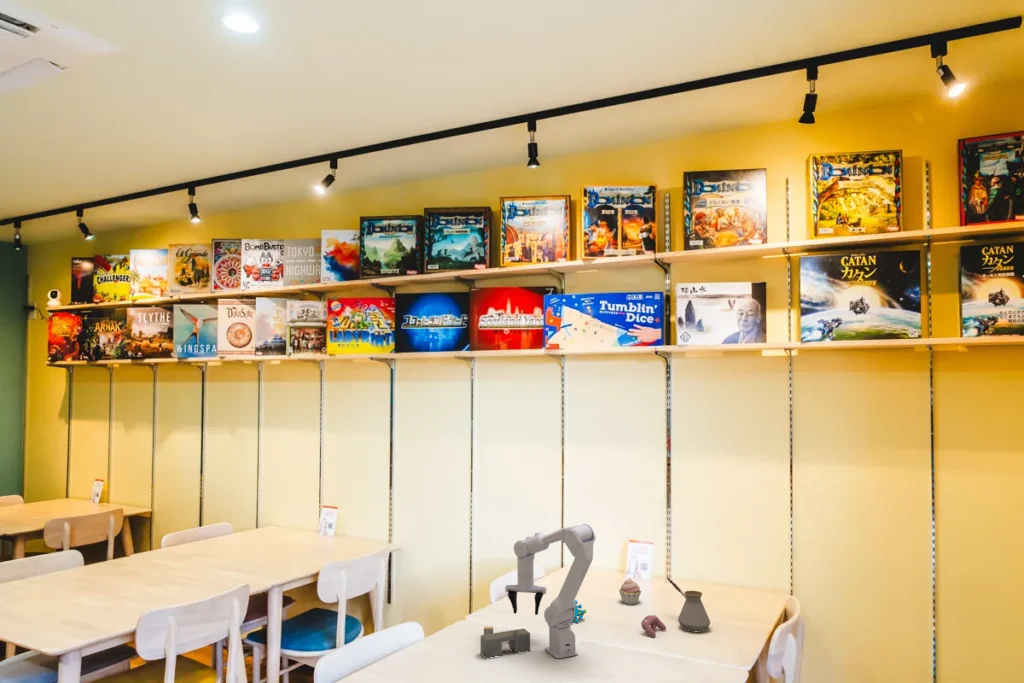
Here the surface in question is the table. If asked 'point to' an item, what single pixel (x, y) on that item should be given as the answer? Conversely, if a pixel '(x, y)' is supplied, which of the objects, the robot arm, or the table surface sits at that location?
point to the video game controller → (652, 625)
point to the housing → (493, 642)
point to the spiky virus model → (578, 612)
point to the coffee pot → (692, 611)
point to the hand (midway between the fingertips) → (526, 613)
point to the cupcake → (630, 592)
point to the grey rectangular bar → (488, 630)
